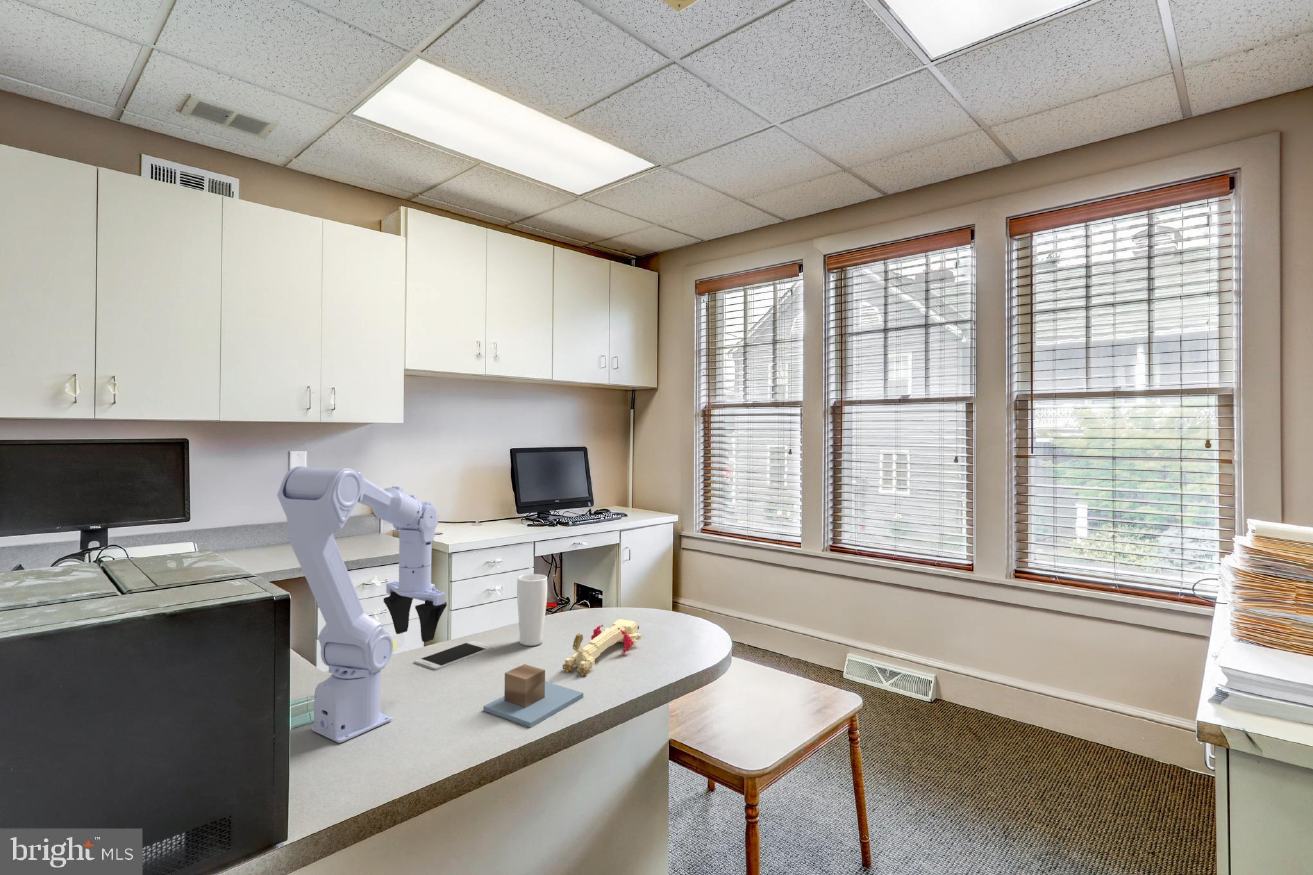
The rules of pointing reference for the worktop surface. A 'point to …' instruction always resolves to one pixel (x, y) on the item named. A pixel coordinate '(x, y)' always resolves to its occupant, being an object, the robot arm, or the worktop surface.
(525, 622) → the drinking glass
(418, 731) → the worktop surface
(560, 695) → the slate board
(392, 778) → the worktop surface
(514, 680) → the walnut cube
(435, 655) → the smartphone
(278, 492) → the robot arm
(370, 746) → the worktop surface
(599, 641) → the cream long lumpy piece
